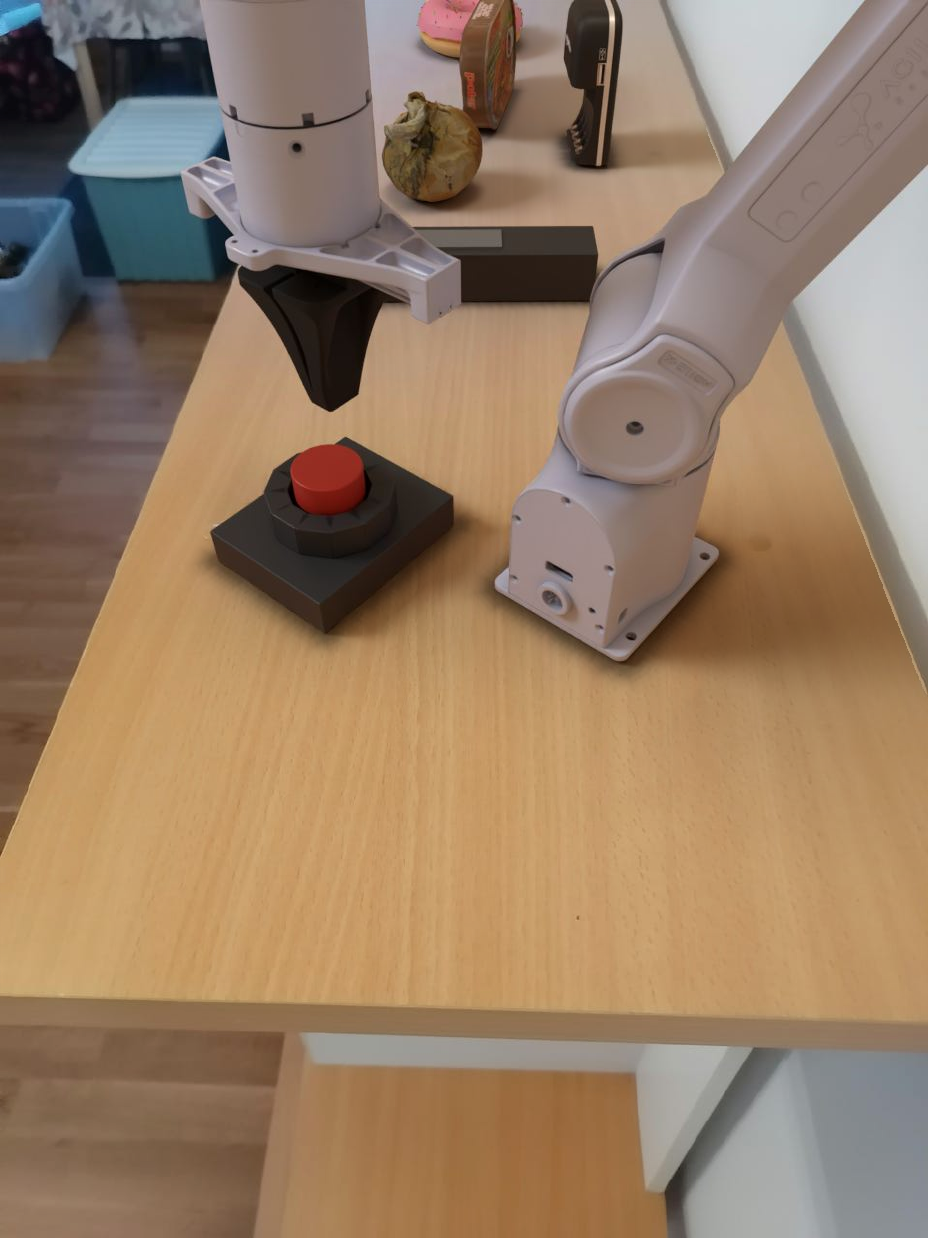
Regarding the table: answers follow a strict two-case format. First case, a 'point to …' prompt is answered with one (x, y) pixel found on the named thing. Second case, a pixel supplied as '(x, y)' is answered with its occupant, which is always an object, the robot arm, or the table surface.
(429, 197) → the onion
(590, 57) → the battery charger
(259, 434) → the table surface
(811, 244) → the robot arm
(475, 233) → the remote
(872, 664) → the table surface
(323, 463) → the button
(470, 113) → the tin
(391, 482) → the button block
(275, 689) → the table surface
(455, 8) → the doughnut
